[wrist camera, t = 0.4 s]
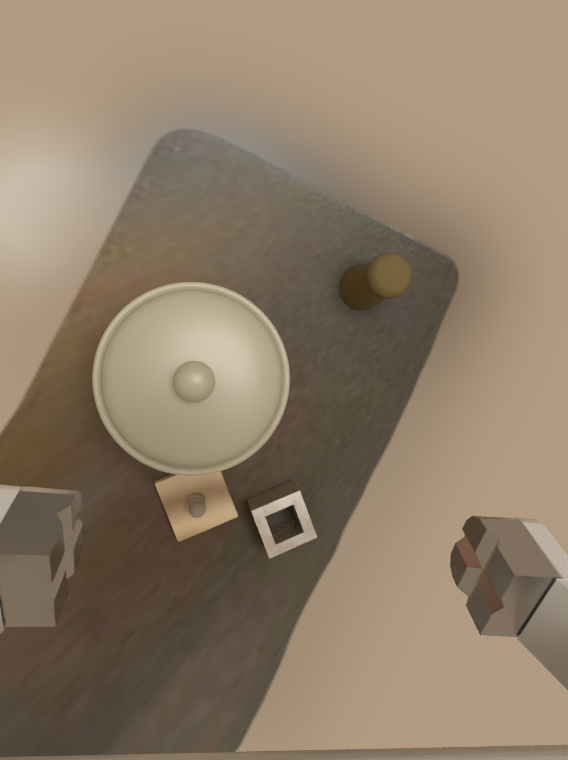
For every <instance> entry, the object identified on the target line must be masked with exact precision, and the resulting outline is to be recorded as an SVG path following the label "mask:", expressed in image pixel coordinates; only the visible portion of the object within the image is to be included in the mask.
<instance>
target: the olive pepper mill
mask: <svg viewBox="0 0 568 760" xmlns="http://www.w3.org/2000/svg"><path fill="white" fill-rule="evenodd" d="M410 281H411V270H410V267H409V265H408V263H407V261H406V260H405V259H404V258H403V257H402V256H400V255H398V254H395V253H384V254H381V255H379V256H377V257H375V258H374V259H373V260H372V261H371V262H370V263H369V264H364V265H359V266H354V267H352V268H350V269H348V270H347V271H346V272H345V273H344V274H343V276H342V278H341V280H340V287H339V289H340V295H341V297H342V299H343V301H344V302H345V303H346V304H347V305H348V306H349V307H351V308H353V309H355V310H361V311H362V310H367V309H370V308H371V307H373V306H375V305H376V304H377V303H379V302H380V301H381V300H383V299H390V298H395V297H397V296H399V295H401V294H402V293H403V292H404V291H405V290H406V289H407V288H408V286H409V284H410Z"/></svg>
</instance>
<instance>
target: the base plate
mask: <svg viewBox="0 0 568 760" xmlns="http://www.w3.org/2000/svg"><path fill="white" fill-rule="evenodd" d="M155 486H156V488H157V491H158V493H159V496H160V498H161V501H162V503H163V506H164V508H165V511H166V513H167V515H168V518H169V520H170V523H171V525H172V528H173V530H174V533H175V535H176V538H177V540H178V542H180V541H182V540H185V539H187V538H189V537H192V536H194V535H196V534H199V533H201V532H203V531H206V530H208V529H210V528H213V527H215V526H218V525H220V524H222V523H225V522H227V521H229V520H232V519H234V518H236V517H238V514H237V511H236V508H235V506H234V503H233V501H232V498H231V495H230V493H229V490H228V488H227V485H226V483H225V480H224V477H223V475H222V472H221V471H220V472H216V473H212V474H207V475H197V476H185V475H176V474H171V475H169V476H166V477H164V478H162V479H159V480H157V481H155Z"/></svg>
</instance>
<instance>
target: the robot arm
mask: <svg viewBox="0 0 568 760" xmlns="http://www.w3.org/2000/svg"><path fill="white" fill-rule="evenodd" d="M81 508H82V495H81V493H80V492H79V491H73V490H62V489H50V488H39V487H27V486H25V487H19V486H9V485H0V633H1V632H2V631H4V627H56V624H57V621H58V618H59V615H60V613H61V610H62V607H63V604H64V601H65V599H66V596H67V579H68V578H69V577H70V576H71V575H73V574H74V573H75V570H76V567H77V564H78V561H79V557H80V552H81V548H82V541H83V523H82V522H81V521H80V520H79V519H78V516H79V514H80V511H81ZM463 531H464V534H465V537H464V538H462V539H461V540H459V541H458V542H456V543H455V546H454V548H453V550H452V552H451V563H450V567H451V572H452V576H453V579H454V581H455V583H456V585H457V587H458V588H459V589H460V590H461V591H462V592H464V593H465V594H466V595H467V596H468V601H467V604H466V606H467V608H468V611H469V613H470V615H471V617H472V619H473V621H474V623H475V625H476V627H477V629H478V631H479V633H480V635H492V636H510V637H518V640H519V641H520V642H521V643H522V644H523V645H524V646H525V647H526V648H527V649H528V650H529V651H530V652H531V653H532V654H533V655H534V656H535V657H536V658H537V659H538V660H539V661H540V662H541V663H542V664H543V665H544V666H545V667H546V668H547V669H548V671H549V672H550V673H551V674H552V675H553V676H555V677H556V679H557V680H558V681H559V682H561V684H562V685H563V686H564V687H565V688H567V690H568V557H567V555H566V554H565V552H564V551H563V550H562V548H561V547H560V546H559V544H558V543H557V542H556V541H555V539H554V538H553V537H552V535H551V534H550V533H549V531H548V530H547V529H546V527H545V526H544V525H543V524H542V523H541V522H539V521H538V520H536V519H524V518H513V519H512V518H501V517H481V516H471V517H470V518H469V519H468V520H466V522H465V525H464V526H463ZM0 760H568V745H536V746H535V745H534V746H489V747H443V748H399V749H398V748H395V749H352V750H351V749H347V750H304V751H303V750H301V751H256V752H211V753H167V754H123V755H78V756H31V757H0Z"/></svg>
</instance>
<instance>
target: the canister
mask: <svg viewBox="0 0 568 760" xmlns="http://www.w3.org/2000/svg"><path fill="white" fill-rule="evenodd" d="M92 384H93V393H94V399H95V403H96V406H97V410H98V412H99V415H100V417H101V419H102V422H103V423H104V425H105V427H106V429H107V430H108V432H109V433H110V435H111V436H112V437H113V439H114V440H115V441H116V442H117V443H118V444H119V445H120V446H121V447H122V448H123V449H124V450H125V451H126V452H127V453H128V454H130V455H131V456H132V457H134V458H135V459H137V460H138V461H140V462H141V463H143V464H145V465H147V466H149V467H151V468H154V469H156V470H159V471H162V472H166V473H170V474H176V475H185V476H197V475H207V474H212V473H216V472H220V471H223V470H226V469H228V468H231V467H233V466H235V465H237V464H239V463H241V462H243V461H244V460H246V459H247V458H249V457H250V456H251V455H253V454H254V453H255V452H256V451H258V450H259V449H260V448H261V447H262V446H263V445H264V444H265V443H266V441H267V440H268V439H269V438H270V436H271V435H272V434H273V432H274V431H275V429H276V427H277V426H278V424H279V422H280V420H281V418H282V415H283V413H284V410H285V407H286V404H287V400H288V395H289V386H290V371H289V363H288V358H287V354H286V351H285V348H284V345H283V342H282V340H281V338H280V336H279V334H278V332H277V330H276V329H275V327H274V326H273V324H272V323H271V321H270V320H269V319H268V318H267V316H266V315H265V314H264V313H263V312H262V311H261V310H260V309H259V308H258V307H257V306H256V305H254V304H253V303H252V302H250V301H249V300H248V299H246V298H245V297H243V296H241V295H240V294H238V293H236V292H234V291H232V290H229V289H227V288H224V287H221V286H217V285H213V284H209V283H201V282H181V283H174V284H169V285H165V286H161V287H158V288H155V289H153V290H150V291H148V292H146V293H144V294H142V295H141V296H139V297H137V298H136V299H134V300H133V301H132V302H130V303H129V304H128V305H127V306H125V307H124V308H123V309H122V310H121V311H120V312H119V313H118V314H117V315H116V316H115V318H114V319H113V320H112V321H111V323H110V324H109V326H108V327H107V329H106V331H105V332H104V334H103V336H102V338H101V340H100V343H99V345H98V348H97V351H96V355H95V359H94V364H93V373H92Z"/></svg>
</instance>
